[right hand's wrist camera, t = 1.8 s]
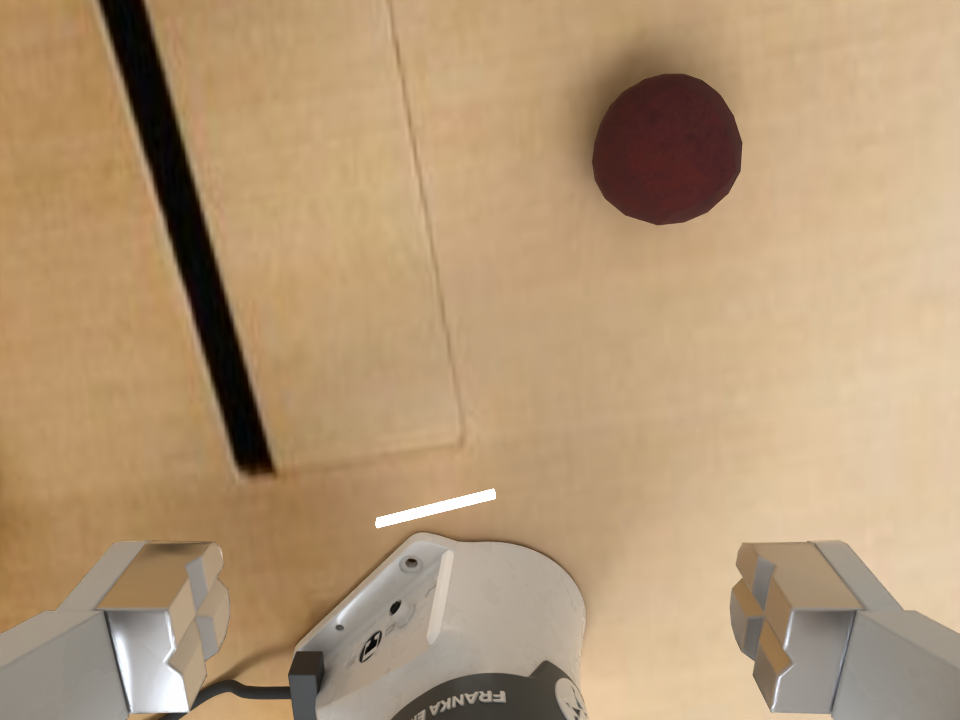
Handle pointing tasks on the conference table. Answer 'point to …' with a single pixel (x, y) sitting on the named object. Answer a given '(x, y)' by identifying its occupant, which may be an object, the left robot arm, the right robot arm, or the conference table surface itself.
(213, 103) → the conference table surface
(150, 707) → the right robot arm
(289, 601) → the conference table surface
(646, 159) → the plum
